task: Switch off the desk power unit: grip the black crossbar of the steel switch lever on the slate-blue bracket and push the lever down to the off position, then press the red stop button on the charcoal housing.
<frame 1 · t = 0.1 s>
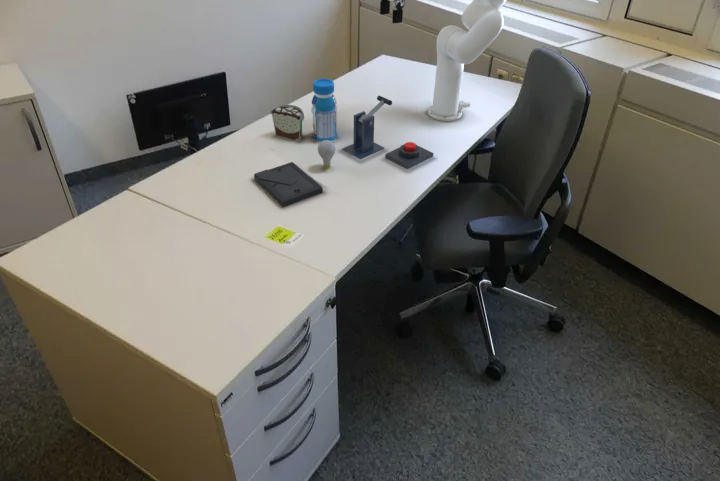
hand: (390, 18, 173), 37 cm above the table, tool pointing down, fingers open, 9 cm apart
button housing: (409, 159, 176), on the table
picture frame: (288, 186, 163), on the table
light bulb: (327, 170, 171), on the table
stop button: (410, 147, 173), point 4 cm above the table, slide at 0.1 cm
switch lever: (373, 111, 174), point 13 cm above the table, hinge at 25.0°
switch bracket: (363, 151, 180), on the table
food container: (292, 135, 188), on the table
beverage bottle: (325, 138, 187), on the table
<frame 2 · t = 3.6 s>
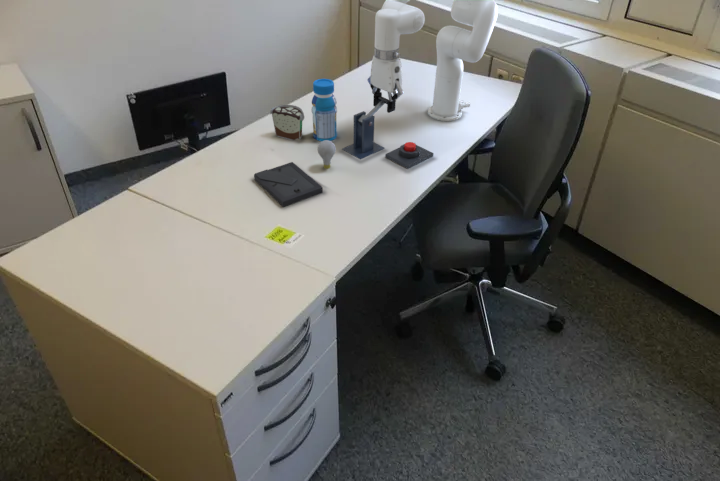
hand: (384, 107, 177), 13 cm above the table, tool pointing down, fingers closed on switch lever, 5 cm apart
switch lever: (373, 111, 174), point 13 cm above the table, hinge at 25.0°, touching gripper
everything else where it was.
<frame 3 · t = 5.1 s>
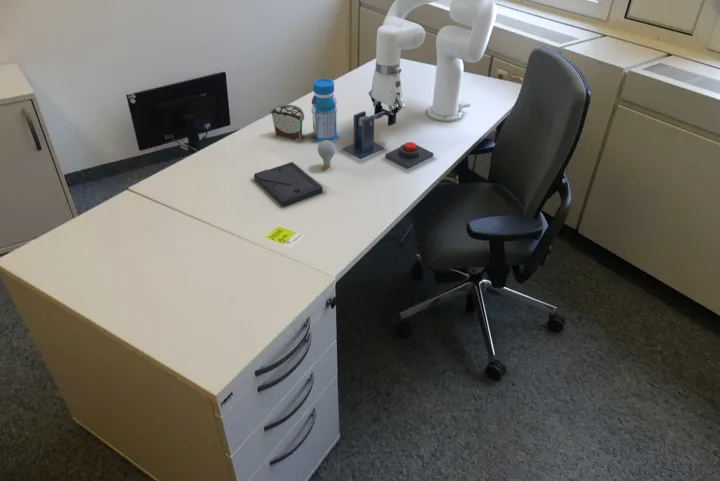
hand: (384, 120, 180), 8 cm above the table, tool pointing down, fingers closed on switch lever, 5 cm apart
switch lever: (374, 116, 176), point 11 cm above the table, hinge at -1.3°, touching gripper
everything else where it was.
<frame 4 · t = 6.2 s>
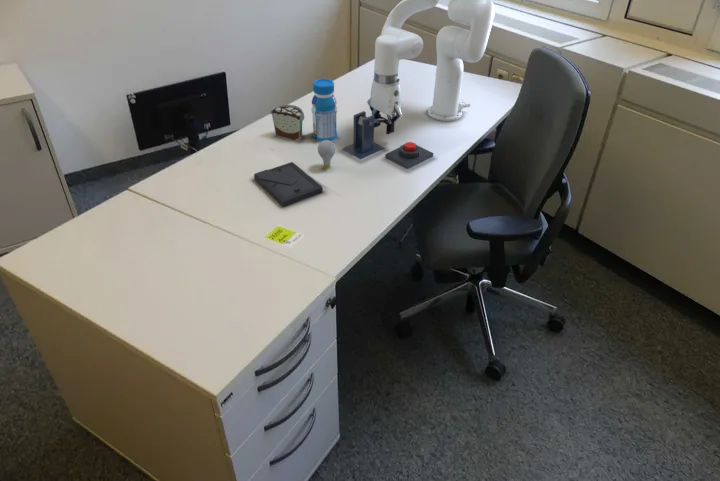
hand: (383, 129, 182), 5 cm above the table, tool pointing down, fingers closed on switch lever, 5 cm apart
switch lever: (373, 120, 176), point 10 cm above the table, hinge at -17.6°, touching gripper
everything else where it was.
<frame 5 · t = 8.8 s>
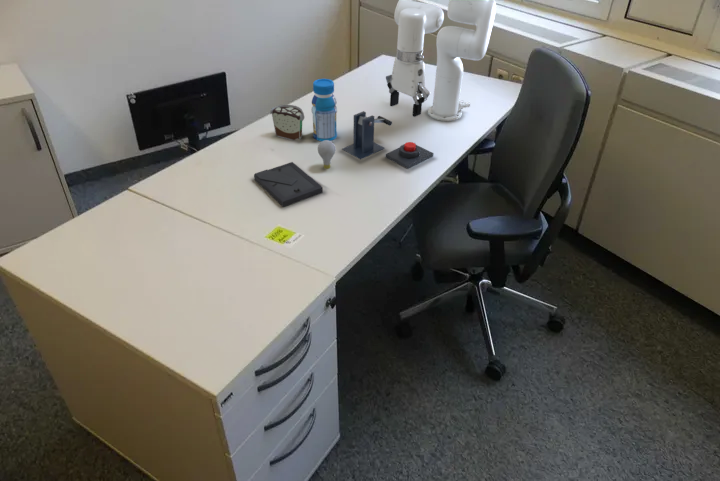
hand: (405, 110, 168), 16 cm above the table, tool pointing down, fingers open, 9 cm apart
switch lever: (373, 120, 176), point 10 cm above the table, hinge at -17.6°
everything else where it was.
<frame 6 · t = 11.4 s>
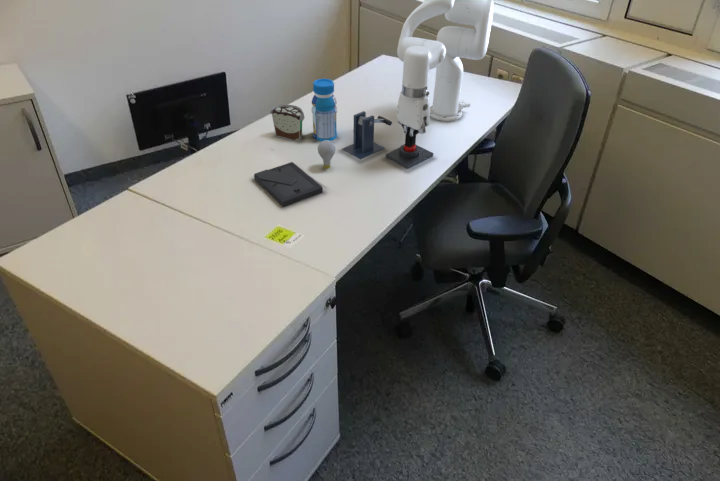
hand: (409, 145, 173), 5 cm above the table, tool pointing down, fingers closed
stop button: (410, 147, 174), point 4 cm above the table, slide at 0.0 cm, touching gripper
everything else where it was.
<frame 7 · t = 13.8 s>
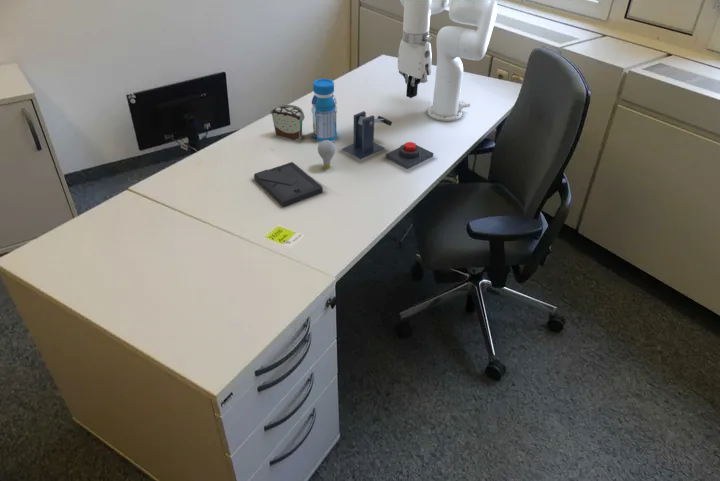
hand: (411, 96, 169), 19 cm above the table, tool pointing down, fingers closed
stop button: (410, 147, 173), point 4 cm above the table, slide at 0.1 cm
everything else where it was.
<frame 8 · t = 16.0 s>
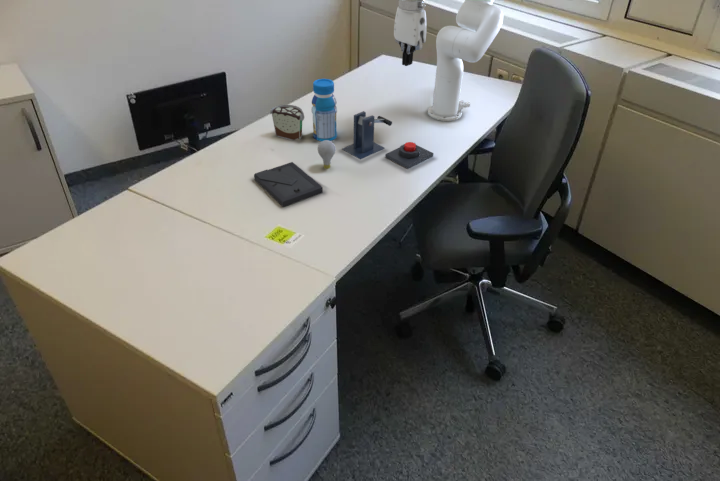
hand: (407, 64, 174), 25 cm above the table, tool pointing down, fingers closed
nothing on the table moved.
at the end: switch lever at -18° (first picture: +25°); stop button pushed in 1.1 cm at the most during the clip, back to where it started at the end; stop button slide at 0.1 cm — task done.
